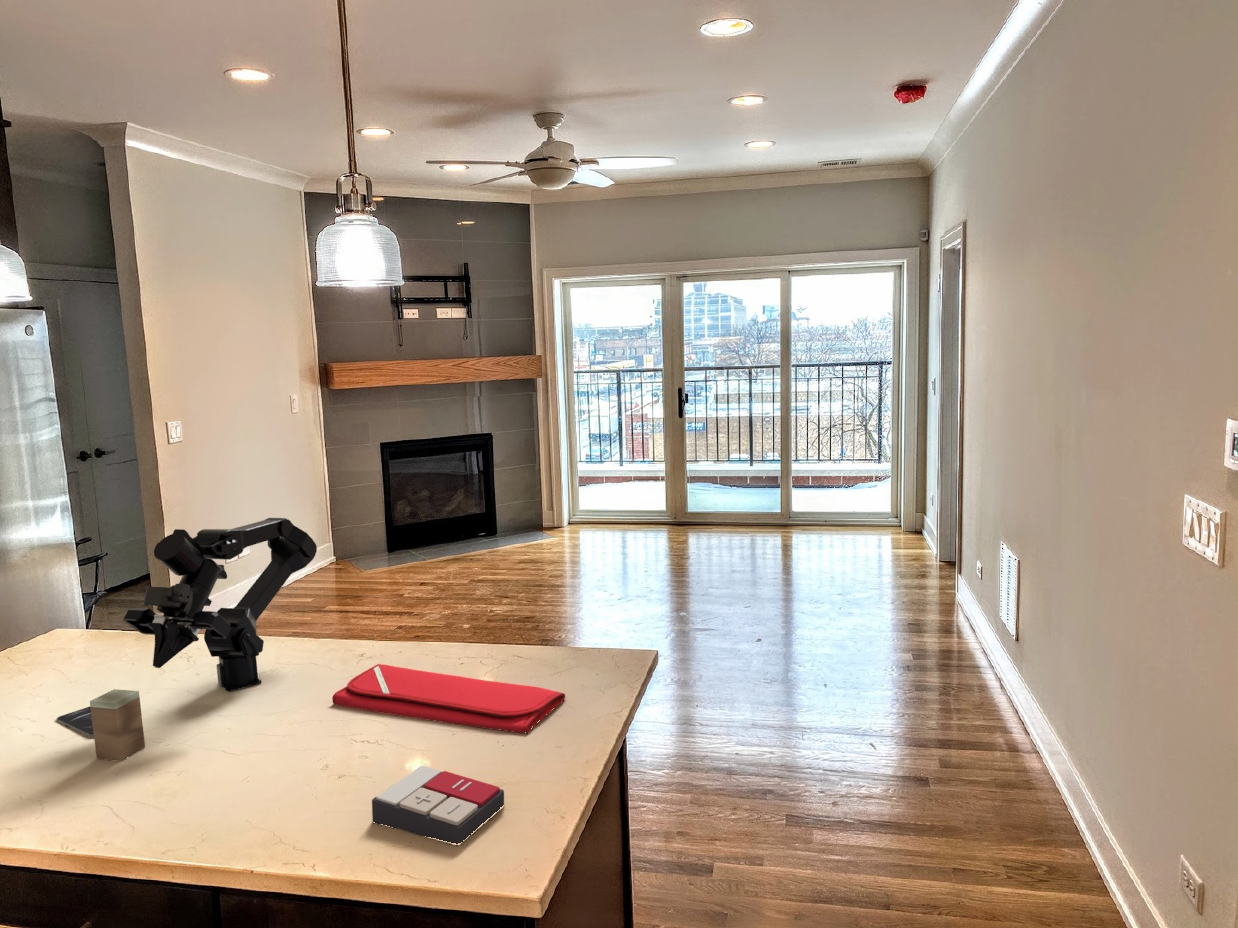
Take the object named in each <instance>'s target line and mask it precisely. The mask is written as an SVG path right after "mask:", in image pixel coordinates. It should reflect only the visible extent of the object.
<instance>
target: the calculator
mask: <svg viewBox="0 0 1238 928" xmlns="http://www.w3.org/2000/svg"><path fill="white" fill-rule="evenodd" d="M503 805H504V806H505V791H504V789H501V788H500V786H497V785H495V784H494V785H493V784H491V783H487V782H485V781H480V780H477V779H473V778H470V777H466V776H463V775H460V774H456V773H453V772H449V771H446V770H444V771H441V770H439V769H436V768H432V767H429V766H425V765H420V766H419V767H417V768H416V769H414V770H412V772H410V773H409V774H407V775H406V776H404V777H403V778H401V779H400V780H398V781H397V782H395V783H394V784H392V785H391V786H389V787H388V788H386V789H385V790H384V791H382V792H381V793H379V794H377V795H376V796H375V797H373V798H372V799H371V810H372V811H371V815H372V818H371V819H372V823H373V822H375V823H377V824H376V825H379V824H383V825H387V826H390V827H393V828H396V829H399V830H402V831H404V832H409V833H411V834H414V835H416V834H417V836H419V835H420V837H422V836H426V837H431V838H436V839H439V840H443V841H447V842H451V843H456V844H458V843H461V842H463V840H465V839H466V838H467V837H468V836H469V835H471V833H473V831H475V830H476V829H477V828H478V827H479V826H480V825H481V824H482V823H484V822H485V821H486V820H487V819H488V818H490V817H491V816H492V815H493V814H494V813H495V812H497V811H498V810H499V809H500V807H502V806H503ZM375 823H374V824H375ZM383 825H382V826H383ZM390 827H389V828H390ZM393 828H392V829H393ZM426 837H425V838H426Z"/></svg>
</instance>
